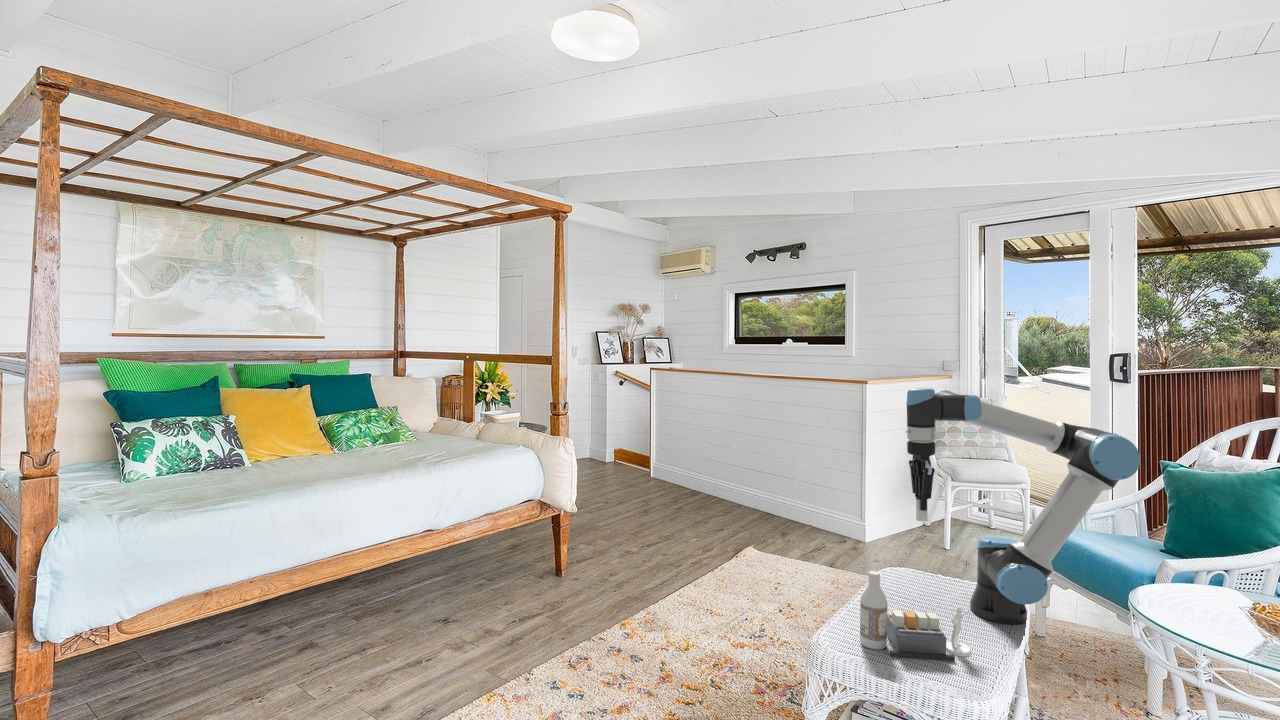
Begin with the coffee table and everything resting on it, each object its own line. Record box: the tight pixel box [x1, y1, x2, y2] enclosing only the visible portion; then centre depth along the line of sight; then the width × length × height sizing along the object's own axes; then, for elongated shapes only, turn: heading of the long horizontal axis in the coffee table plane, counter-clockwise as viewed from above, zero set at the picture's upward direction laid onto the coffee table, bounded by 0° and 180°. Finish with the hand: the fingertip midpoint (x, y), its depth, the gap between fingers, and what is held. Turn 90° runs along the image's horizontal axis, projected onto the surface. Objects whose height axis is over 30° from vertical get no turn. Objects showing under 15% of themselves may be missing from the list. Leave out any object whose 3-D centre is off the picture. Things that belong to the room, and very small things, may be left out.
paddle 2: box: [903, 610, 916, 628], centre depth 167 cm, size 2×4×3 cm, turn 172°
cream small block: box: [891, 610, 904, 627], centre depth 167 cm, size 2×4×3 cm, turn 172°
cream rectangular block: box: [925, 612, 940, 630], centre depth 166 cm, size 2×4×3 cm, turn 172°
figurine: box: [946, 606, 973, 657], centre depth 165 cm, size 7×7×12 cm
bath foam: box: [859, 570, 888, 650], centre depth 168 cm, size 7×7×20 cm
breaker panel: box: [887, 613, 947, 655], centre depth 167 cm, size 12×12×7 cm
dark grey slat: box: [889, 649, 956, 662], centre depth 161 cm, size 16×1×1 cm, turn 82°
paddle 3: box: [914, 611, 928, 629], centre depth 167 cm, size 2×4×3 cm, turn 172°
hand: (921, 520), depth 179 cm, fingers closed
